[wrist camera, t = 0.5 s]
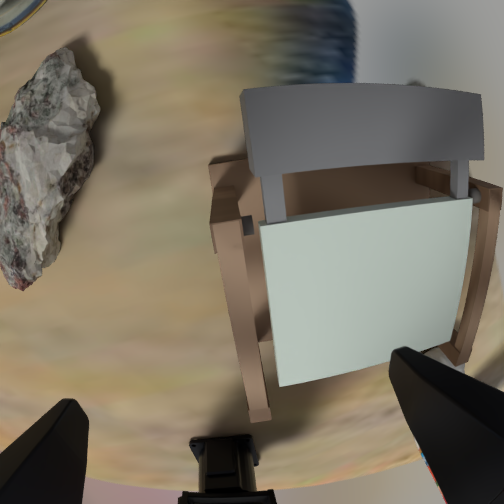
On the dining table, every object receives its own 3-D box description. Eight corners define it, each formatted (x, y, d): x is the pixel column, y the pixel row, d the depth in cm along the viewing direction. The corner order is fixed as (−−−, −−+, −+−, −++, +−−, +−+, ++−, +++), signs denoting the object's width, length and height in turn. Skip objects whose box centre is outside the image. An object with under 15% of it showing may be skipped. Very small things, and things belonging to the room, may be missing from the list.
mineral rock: (55, 46, 15) (21, 33, 10) (144, 91, 17) (123, 82, 13) (-16, 226, 18) (-49, 246, 14) (55, 277, 21) (28, 307, 17)
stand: (416, 304, 24) (468, 361, 17) (239, 341, 24) (249, 423, 16) (424, 144, 19) (504, 161, 12) (208, 164, 19) (200, 187, 11)
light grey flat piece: (437, 327, 18) (456, 347, 16) (275, 367, 18) (282, 397, 15) (450, 94, 13) (480, 94, 10) (239, 96, 12) (243, 89, 10)
